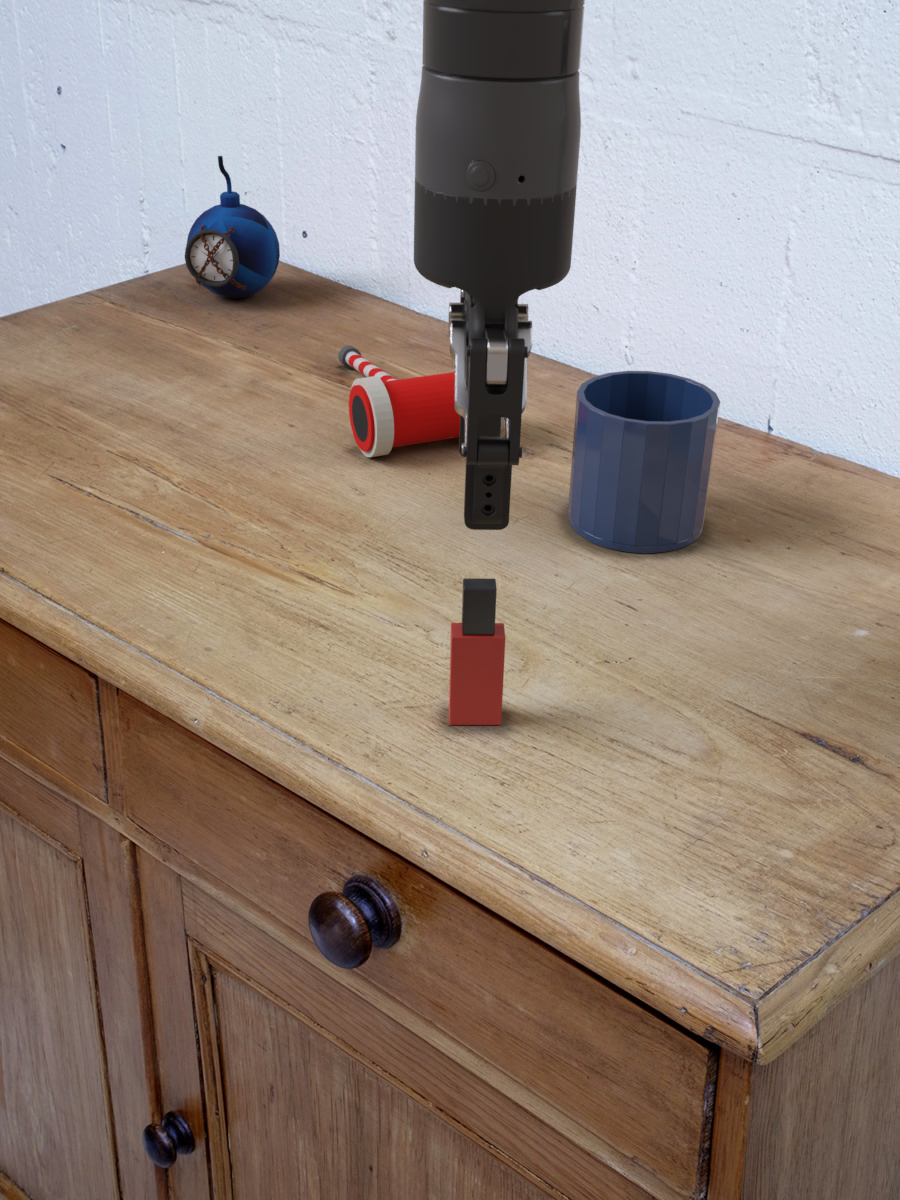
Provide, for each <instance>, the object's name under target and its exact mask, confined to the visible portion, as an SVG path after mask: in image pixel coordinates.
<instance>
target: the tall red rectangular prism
mask: <svg viewBox="0 0 900 1200" xmlns="http://www.w3.org/2000/svg"><path fill="white" fill-rule="evenodd" d="M497 589H498V587H497V580H496V578H472V577H471V578H470V577H469V578H466V577H465V578H462V596H461V597H462V599H461V622H451V623H450V639H449V640H450V642H449V646H450V647H449V677H448V678H449V679H448V681H449V682H448V684H449V685H448V724H449V725H450V726H501V725H502V714H503V698H504V697H503V695H504V676H505V657H506V655H505V654H506V639H507V638H506V630H505V623H503V622H496V615H497V614H496V612H497V611H496V609H497Z"/></svg>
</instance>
